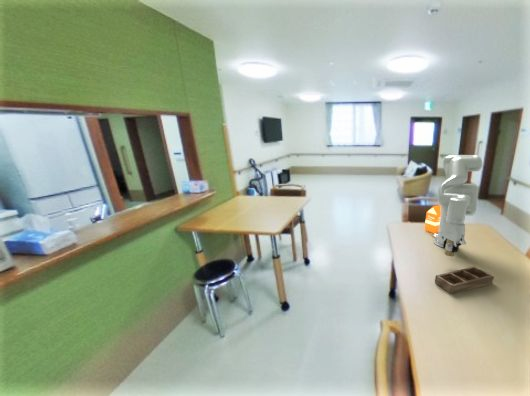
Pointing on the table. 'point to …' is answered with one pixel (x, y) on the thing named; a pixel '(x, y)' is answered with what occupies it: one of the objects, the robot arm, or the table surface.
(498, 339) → the table surface
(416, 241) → the table surface
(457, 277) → the rack
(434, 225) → the orange juice
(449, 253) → the sprinkles bottle
